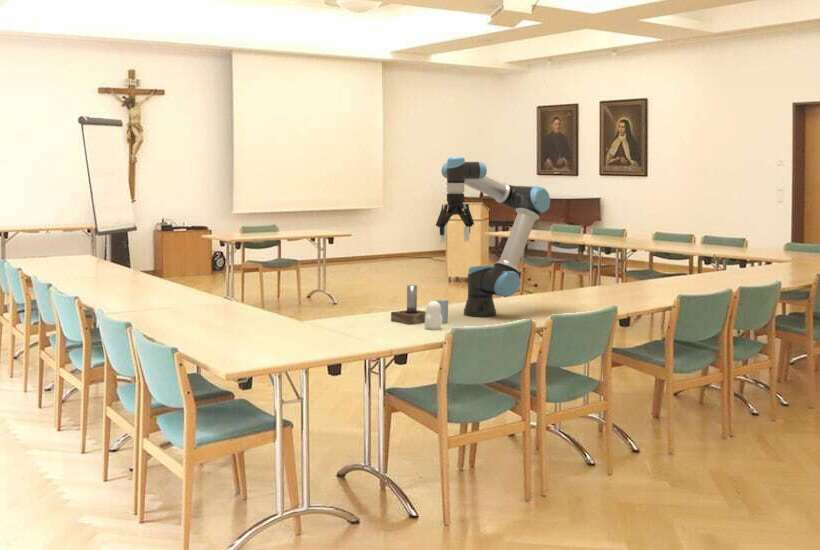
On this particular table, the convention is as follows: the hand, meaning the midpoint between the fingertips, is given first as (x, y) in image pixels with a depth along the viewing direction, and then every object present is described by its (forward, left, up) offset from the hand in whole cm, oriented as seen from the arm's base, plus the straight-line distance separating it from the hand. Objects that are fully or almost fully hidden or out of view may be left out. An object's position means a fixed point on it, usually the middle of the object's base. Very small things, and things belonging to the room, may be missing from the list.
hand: (455, 242), depth 388 cm
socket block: (+9, -17, -36) cm, 41 cm away
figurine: (+15, +2, -36) cm, 39 cm away
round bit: (+9, -17, -36) cm, 41 cm away
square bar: (+1, -6, -36) cm, 37 cm away
